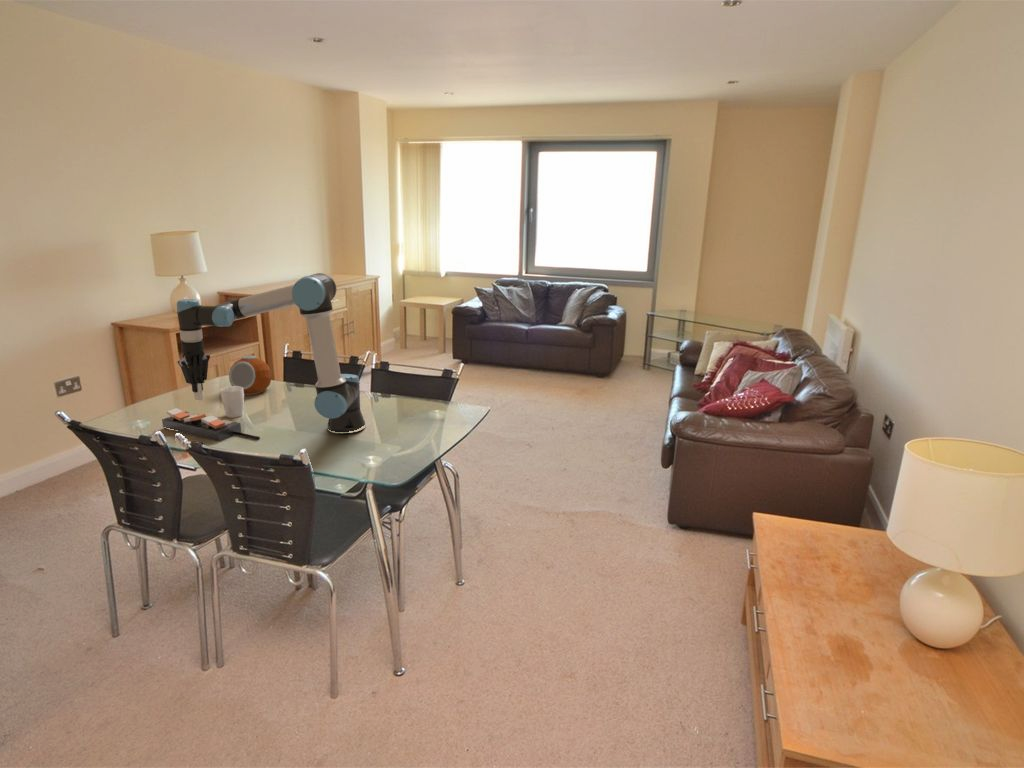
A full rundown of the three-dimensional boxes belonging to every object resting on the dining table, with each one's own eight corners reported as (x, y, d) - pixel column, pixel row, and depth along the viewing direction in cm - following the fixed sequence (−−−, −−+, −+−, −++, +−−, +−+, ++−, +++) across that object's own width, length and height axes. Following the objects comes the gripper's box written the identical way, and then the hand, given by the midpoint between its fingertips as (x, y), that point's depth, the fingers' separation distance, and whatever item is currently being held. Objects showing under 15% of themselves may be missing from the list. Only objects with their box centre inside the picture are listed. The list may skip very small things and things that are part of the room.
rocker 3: (224, 425, 235) (225, 422, 235) (215, 428, 231) (215, 425, 231) (211, 417, 237) (211, 415, 237) (201, 421, 233) (202, 418, 233)
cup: (237, 419, 255) (234, 392, 251) (218, 417, 256) (215, 390, 253) (250, 412, 263) (247, 386, 260) (232, 410, 265) (229, 384, 262)
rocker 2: (206, 416, 238) (205, 413, 238) (196, 420, 234) (195, 417, 234) (194, 418, 241) (193, 415, 241) (184, 421, 237) (183, 418, 237)
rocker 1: (189, 417, 242) (189, 414, 242) (179, 420, 238) (179, 418, 237) (176, 410, 244) (176, 408, 243) (166, 413, 240) (166, 411, 239)
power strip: (264, 437, 237) (263, 425, 235) (243, 446, 227) (241, 434, 226) (186, 420, 252) (185, 409, 250) (163, 428, 242) (161, 416, 240)
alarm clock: (222, 394, 287) (219, 359, 282) (244, 384, 303) (241, 351, 298) (259, 397, 284) (256, 362, 279) (279, 387, 301) (276, 354, 296)
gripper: (199, 336, 234) (205, 393, 241) (169, 342, 223) (177, 402, 229) (213, 338, 232) (219, 396, 238) (184, 344, 220) (191, 405, 227)
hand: (198, 399), depth 234 cm, fingers closed
